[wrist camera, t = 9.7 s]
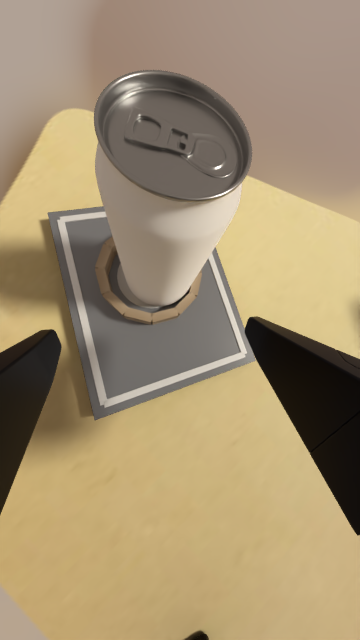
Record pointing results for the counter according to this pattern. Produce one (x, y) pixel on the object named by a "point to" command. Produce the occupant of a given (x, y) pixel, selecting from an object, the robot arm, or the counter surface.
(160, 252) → the can
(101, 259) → the socket collar
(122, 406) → the grey mat
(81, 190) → the counter surface
